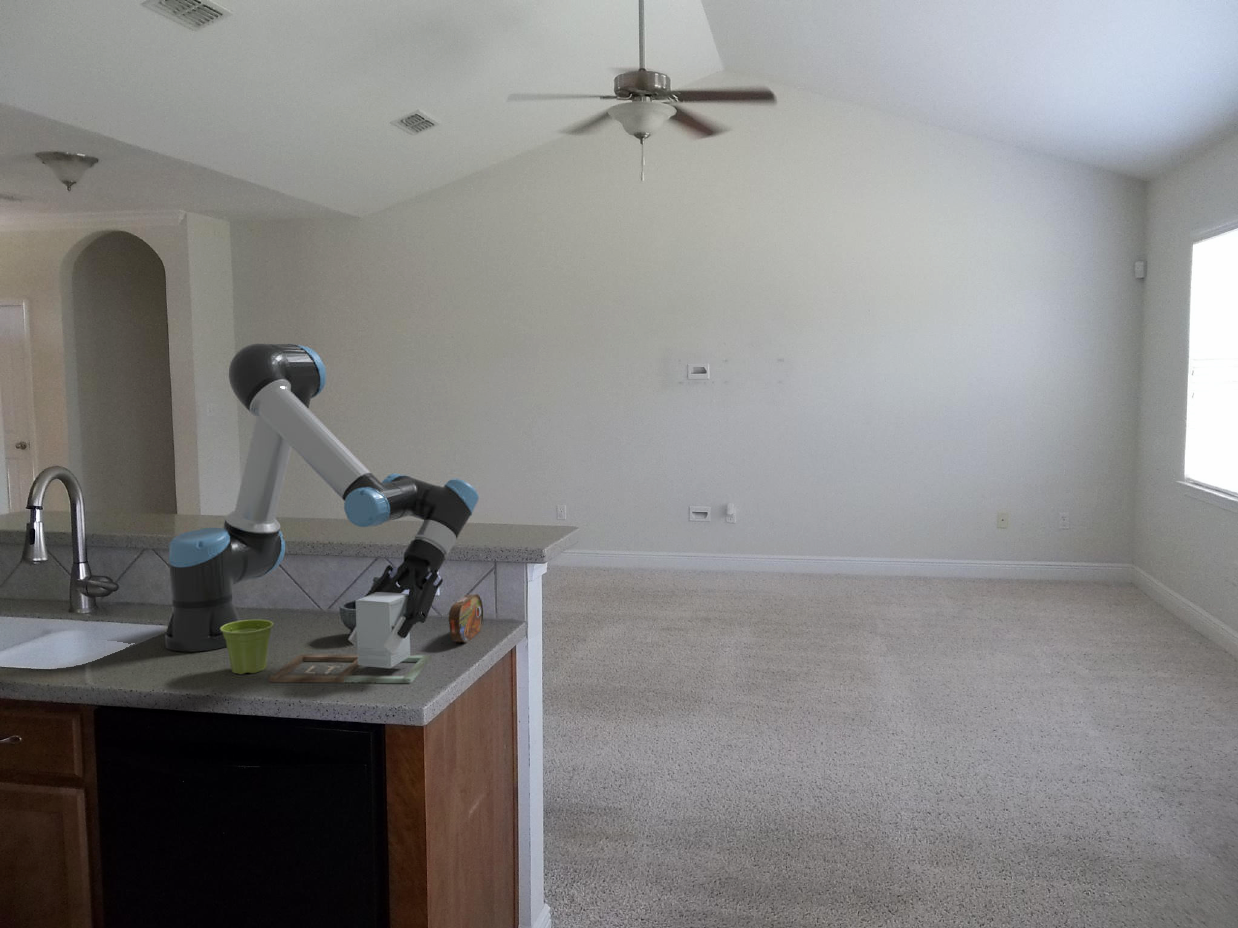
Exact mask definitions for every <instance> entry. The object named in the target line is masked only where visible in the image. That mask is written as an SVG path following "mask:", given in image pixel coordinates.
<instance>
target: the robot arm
mask: <svg viewBox="0 0 1238 928" xmlns="http://www.w3.org/2000/svg"><path fill="white" fill-rule="evenodd" d="M228 380H229V384H230V387H231V389H232V391H233V393H234V394H235V397H237V399H238V400H239V402H240V404H242V405H243V406H244V408H246V410H247V411H249V412H250V414H252V415H253V416H255V420H254V423H253V427H252V428H253V429H252V432H251V438H250V441H249V446H248V451H247V453H246V454H247V455H246V459H245V463H244V469H243V473H242V477H241V481H240V485H239V490H238V495H237V500H236V504H235V508H234V510H233V511H232V512H229V513H228V514H227V515H226V516H225V518H224V519H225V520H224V524H223V527H205V528H204V527H203V528H200V529H193V530H189V531H185V532H184V533H180V534H178V535H176V536H175V537H174V538H173V539H171V541H170V543H169V545H168V546H169V549H168V551H169V555H168V559H167V560H168V563H169V576H170V589H171V604H172V605H171V606H172V608H171V609H172V611H171V614H170V617H169V621H168V624H167V627H166V628H167V629H166V631H165V635H164V636H165V637H164V641H165V643H164V644H165V648H166V649H168V650H170V651H176V652H188V653H189V652H202V651H211V650H212V651H213V650H216V649H217V650H218V649H222V648H227V644H226V639H225V638H224V635H223V632H221V630H220V628H221V627H222V626H223V625H225V624H228V623H231V622H236V621H241V619H240V617H239V616H238V613H237V610H236V608H235V605H234V602H233V589H232V588H233V586H234V585H237V584H239V583H242V582H245V581H246V582H247V581H248V580H253V579H258V578H262V577H263V576H265V575H267V574H269V573H271V572H273V571H274V570H275V569H277V568H278V567H279V565H280V564H281V563H282V561H283V559H284V556H285V552H286V540H284V539H283V537H284V535H283V533H282V531H281V524H280V522H279V521H278V519H277V518H276V515H277V511H278V507H279V504H280V503H279V502H280V497H281V495H282V489H283V487H284V486H283V485H284V481H285V478H286V474H287V469H288V466H289V461H290V460H289V459H290V456H291V451H292V449H293V450H294V451H295V453H297V454H298V455H299V456H300V457H301V458H302V459H303V460H304V461H305V462H306V463H307V464H308V466H309V467H311V468H312V470H314V472H315V473H317V474H318V475H319V477H321V479H322V480H323V481H324V482H325V483H326V484H327V485H328V486H329V487H330V488H332V490H333V491H334V492H335V493H336V494H337V495H338V496H339V497H340V498H341V499H342V500H343V501H344V505H343V509H344V512H345V515H346V518H347V520H348V521H349V522H350V523H351V524H352V525H354V526H356V527H359V528H368V527H377V526H379V525H382V524H384V523H387V522H390V521H395V520H398V519H402V518H406V517H413V518H416V519H419V520H422V523H421V525H420V526H419V528H418V530H417V531H416V533H415V535H414V536H413V540H411V541H410V543H409V545H408V546H407V548H406V550H405V551H404V553H403V561H402V563H401V564H400V565H398V567H393V566H392V565H391V564H388V565H387V566H386V567H385V569H384V571H383V573H382V575H381V576H379V577H380V578H379V580H378V581H377V582H376V583H375V585H374V586H373V587H372V586H371V587H372V588H370V590H368V591H367V593H366V594H365V595H364V597H366V596H368V595H371V594H373V593H376V592H385V593H402V594H403V592H405V591H408V601H407V607H406V613H404V614H405V615H404V614H403V616H404V617H405V618H406V619H404V618H403V617H400V619H399V620H398V622H397V624H396V625H395V627H394V629H393V630H392V632H391V634H390V636H389V637H388V639H387V641H386V642H385V644H384V646H383V648H384V649H385V650H387V651H388V652H389V653H390V654H391V655H394V654H395V652H396V651H397V649H398V647H399V645H400V644H401V642H402V640H403V638H406V637H407V635H408V633H409V631H411V629H412V628H413V626H415V625H416V624H417V623H421V624H425V622H426V621H427V618H428V616H429V614H430V613H429V612H430V610H431V608H432V604H433V602H434V601H435V597H436V595H437V591H438V590H439V587H440V586H441V585H442V584H443V582H444V579H443V578H442V577H441V576H440V575H439V574H438V572H439V571H440V569H441V567H442V565H443V564H444V562H445V560H446V558H445V557H447V556H448V555H449V553H450V551H452V548H453V546H454V544H455V542H456V541H457V539H458V538H459V535H460V533H461V532H462V530H463V529H464V527H465V525H466V524H467V522H468V520H469V519H470V517H471V516H472V515H473V512H474V510H475V509H476V505H478V501H479V497H480V496H479V494H478V491H477V490H476V489H475V487H474V486H472V485H471V484H470V483H468V482H466V481H465V480H463V479H459V478H452V479H449V480H448V481H447V482H446V483H445V484H444V485H443V486H441V485H436V484H432V483H429V482H426V481H422V480H419V479H416V478H413V477H411V476H409V475H405V474H399V473H391V474H388V475H387V477H386V478H384V479H383V480H382V481H380V480H379V479H378V478H377V477H376V476H375V475H374V474H373V473H372V472H371V471H370V470H369V469H368V468H367V467H366V466H365V465H364V464H363V463H362V462H361V461H360V460H359V458H357V457H356V455H354V454H353V453H352V452H351V451H350V450H349V449H348V448H347V447H346V446H345V444H343V443H342V442H341V441H340V439H338V438H337V437H336V436H335V435H334V434H333V432H331V430H330V429H328V427H327V426H326V425H325V424H324V423H323V422H322V421H321V420H320V419H319V418H318V417H317V416H316V415H315V414H314V413H313V412H312V411H311V410H310V402H311V399H313V398H315V397H316V396H318V394H320V393H322V391H323V390H324V389H325V388H324V387H325V385H326V381H327V372H326V366H325V364H324V362H323V361H322V359H321V357H320V355H319V354H318V353H317V352H316V351H315V350H313V349H312V348H310V347H308V346H305V345H299V344H294V343H253V344H249V345H246V346H245V347H243V348H241V349H239V351H238V352H237V353H236V354H235V355H234V356H233V358H232V359H231V362H230V364H229V368H228ZM347 639H348V641H349V642H350V643H352V644H353V646H355V647H356V648H357V628H356V627H355V629H354V631H353V632H352V634H351V636H350V635H349V637H348V638H347Z"/></svg>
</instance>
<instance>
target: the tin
mask: <svg viewBox="0 0 1238 928" xmlns="http://www.w3.org/2000/svg"><path fill="white" fill-rule="evenodd" d="M483 623H484V607H483V601H482V599H481V597H480V595H479V594H476V593H475V594H467V595H464V596H463V597H461V598H460V599H459V600H458V601H456V602H454V603H453V604H452V606H450V609H449V613H448V625H449V634H450V638H451V640H452V641H453V642H454V643H466V644H467V643H468V642H470V641H471V640H472V639H473V638H474V637H475V636H476V635H478V634H479V633H480V632H481V630H482V627H483Z"/></svg>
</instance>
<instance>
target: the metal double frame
mask: <svg viewBox="0 0 1238 928" xmlns="http://www.w3.org/2000/svg"><path fill="white" fill-rule="evenodd" d="M431 657H432V656H431V655H419V654H418V655H414V654H413V655H411V654H410V657H409V658H408V659H405V660H404V661H402V662H401V663H403V662H404V663H406V662H407V663H408V662H409V663H412V662H414V663H415V662H416V663H415V664H414V665H413V666H412V667H411V669H410V670H409V671H408V672H407V673H406V674H405V675H353V674H354V673H356V671H358V670H359V669H358V668H361V667H362V666H361V665H358V656H357V654H298V655H297V656H295V657H293V659H292V660H290V661H289V662H288V663H286V664H285V665H283V666H282V667H281V668H280V669H278V670H277V671H275V673H273V674H272V675H270V676H269V677H268V682H269V683H345V682H347V683H348V682H349V683H351V682H354V683H355V684H356V683H357V684H360V683H361V682H362V683H363V682H364V683H363V684H367V682H370V683H371V684H381V683H382V684H411V683H412V682H413V681H414V680H415V679H416V678H417V676H418V675H419V674H420V673H421V672H422V670H424V668H425V667H426V666H427V665H428V663H429V662H430V661H431V660H432V658H431ZM303 662H352V663H351V664H349V665H348V666H347V667H346V668H344V670H343V671H342V672H341V673H339V674H337V675H331V674H330V675H329V673H330V672H331V671H332V670H334V669H336V668H337V669H338V668H340V667H341V666H340V665H339V666H338V665H331V666H330V665H327V667H326V668H328V669H327V670H326V671H324V673H323V674H324V675H319V674H316V671H315V672H314V671H313V672H312V670H313V669H314V668H316V665H311V666H310V667H309V668H308V669H307V670H305V671H304V672H303V674H290V672H292V671H294V669H296V668H297V667H298V666H299V665H301V664H302V663H303ZM426 664H427V665H426ZM425 665H426V666H425ZM420 671H421V672H420ZM305 674H307V675H305ZM313 674H314V675H313ZM359 682H360V683H359ZM375 682H376V683H375ZM362 683H361V684H362ZM370 683H369V684H370Z"/></svg>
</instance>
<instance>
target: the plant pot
mask: <svg viewBox="0 0 1238 928" xmlns="http://www.w3.org/2000/svg"><path fill="white" fill-rule="evenodd" d="M273 627H274V622H273V621H272V620H271V621H270V620H267V619H245V620H240V621H236V622H231V623H228V624H225V625H223V626H222V627H221V628H220V630H221V632H223V635H224V638H225V639H226V644H227V646H226V648H227V653H228V658H229V663H230V669H231V672H232V673H233V674H237V673H238V674H239V675H244V674H246V673H250V674H256V673H258V672H262V671H264V670H266V667H267V659H268V648H269V640H270V635H271V634H272V633H271V632H272V628H273ZM238 674H237V675H238Z"/></svg>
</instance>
